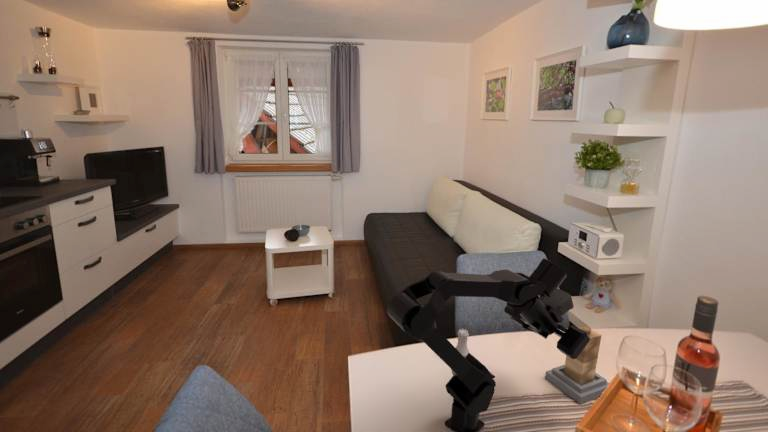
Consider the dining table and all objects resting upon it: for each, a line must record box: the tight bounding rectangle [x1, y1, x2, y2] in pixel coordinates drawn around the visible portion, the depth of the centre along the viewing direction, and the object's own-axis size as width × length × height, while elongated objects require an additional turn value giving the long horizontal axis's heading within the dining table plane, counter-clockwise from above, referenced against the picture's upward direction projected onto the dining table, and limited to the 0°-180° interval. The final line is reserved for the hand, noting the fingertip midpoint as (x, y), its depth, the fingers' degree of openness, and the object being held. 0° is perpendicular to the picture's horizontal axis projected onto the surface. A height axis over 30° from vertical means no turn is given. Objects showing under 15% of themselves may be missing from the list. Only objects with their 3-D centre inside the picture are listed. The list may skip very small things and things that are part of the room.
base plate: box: [544, 364, 611, 405], centre depth 108 cm, size 11×11×3 cm
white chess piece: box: [455, 328, 470, 357], centre depth 118 cm, size 4×4×8 cm
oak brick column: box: [564, 325, 602, 386], centre depth 106 cm, size 5×5×14 cm
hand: (562, 343), depth 101 cm, fingers open, 9 cm apart
